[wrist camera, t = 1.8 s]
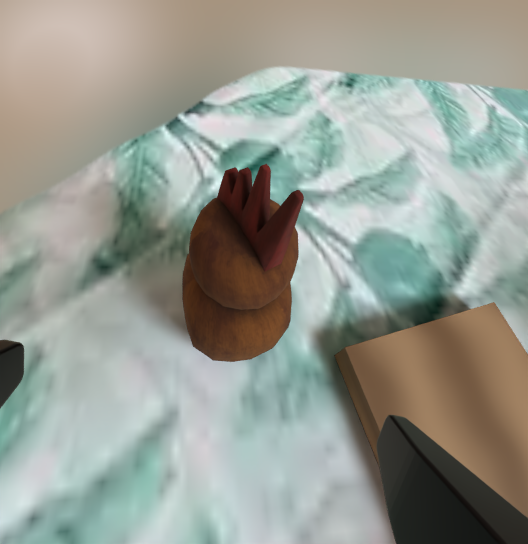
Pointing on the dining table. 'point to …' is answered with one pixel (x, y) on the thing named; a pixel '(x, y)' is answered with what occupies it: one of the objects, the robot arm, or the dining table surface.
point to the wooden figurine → (241, 268)
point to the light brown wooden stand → (451, 392)
